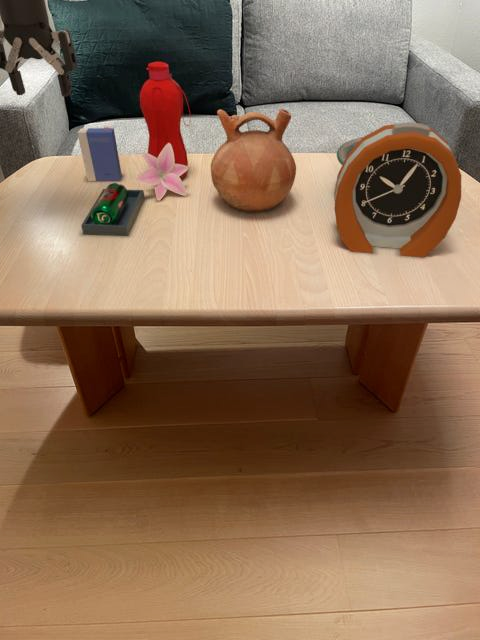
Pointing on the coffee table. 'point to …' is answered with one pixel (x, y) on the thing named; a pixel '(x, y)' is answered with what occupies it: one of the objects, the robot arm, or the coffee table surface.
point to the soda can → (110, 205)
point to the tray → (123, 221)
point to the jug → (253, 163)
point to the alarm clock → (398, 191)
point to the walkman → (100, 154)
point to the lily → (163, 173)
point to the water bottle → (163, 112)
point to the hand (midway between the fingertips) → (43, 94)
